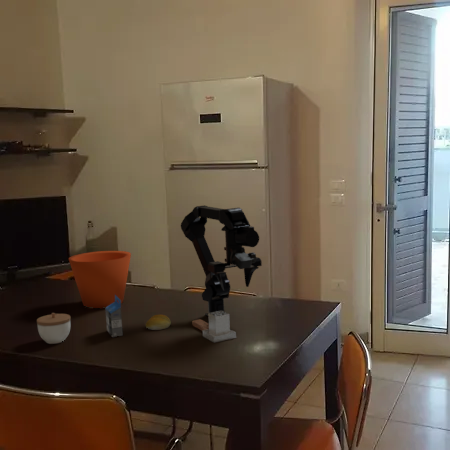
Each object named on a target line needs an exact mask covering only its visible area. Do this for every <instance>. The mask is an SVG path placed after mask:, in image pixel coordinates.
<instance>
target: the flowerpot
mask: <svg viewBox="0 0 450 450" xmlns="http://www.w3.org/2000/svg"><path fill="white" fill-rule="evenodd" d="M131 257H132V253H131V252H129V251H123V250H102V251H101V250H99V251H90V252H89V251H88V252H84V253H79V254H74V255H71V256H70V257H68V262H69V265H70V267H71V271H72V274H73V276H74V280H75V283H76V287H77V290H78V292H79V295H80V299H81V302H82V305H83V307H84V306H87V307H93V308H100V309H104V308H103V307H107V306H109V305H110V304H112V303H114V302H115V295H116V296H117V297H118V298H119V299H120V300H121V303H122V304H123V303H124V301H125V300H124V299H125V293H126V286H127V280H128V275H129V268H130V264H131V263H130V262H131ZM117 302H118V303H119V301H118V300H117ZM93 308H92V309H93Z"/></svg>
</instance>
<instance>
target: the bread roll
mask: <svg viewBox="0 0 450 450" xmlns="http://www.w3.org/2000/svg"><path fill="white" fill-rule="evenodd" d="M170 325H171V319H170V318H169V317H168V316H167V315H165V314H161V313H160V314H155V315H152V316H151V317H150V318H149V319H148V320H147V321H146V323H145V327H146V329H147V328H148V330H152V331H160V330H165V329H168V328H170Z"/></svg>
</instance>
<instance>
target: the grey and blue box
mask: <svg viewBox="0 0 450 450" xmlns="http://www.w3.org/2000/svg"><path fill="white" fill-rule="evenodd" d="M117 300H118V301H119V303H118V302H117ZM104 311H105V321H106V332H108V334H109V335H110V337H112V338H116V337H117V336H119V337H123V336H124V335H123V321H122V318H123V317H122V304H121V300H120V299H119V298H118V297H117V296H116V295H115V302H114V303H112V304H110V305H109V306H107V307H106V308H104ZM117 338H118V337H117Z"/></svg>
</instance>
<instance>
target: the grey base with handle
mask: <svg viewBox="0 0 450 450" xmlns="http://www.w3.org/2000/svg"><path fill="white" fill-rule="evenodd" d="M191 322H192V324H191V325H192V326H193V327H194V328H196V329H199V330H200V331H201V332H202V337H203V338H205V339H207V340H209V341H210V342H212V343H219V342H224V341H228V340H232V339H237V332H236V331H234V330H233V329H231V328H230V332H228V333H223V334H218V335H216V334H214V333H212V332H210V331H209V322H206V321H205V320H203V319H200V318H199V319H195V320H192V321H191Z"/></svg>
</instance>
